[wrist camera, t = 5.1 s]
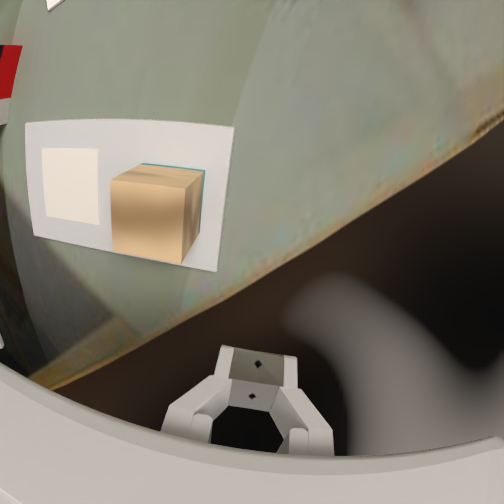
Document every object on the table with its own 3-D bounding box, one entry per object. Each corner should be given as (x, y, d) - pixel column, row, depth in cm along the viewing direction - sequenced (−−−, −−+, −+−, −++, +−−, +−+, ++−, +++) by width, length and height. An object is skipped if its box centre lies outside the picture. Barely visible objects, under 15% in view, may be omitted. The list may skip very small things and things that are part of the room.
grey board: (218, 267, 31) (216, 272, 30) (38, 231, 31) (33, 235, 30) (236, 127, 24) (234, 127, 23) (30, 121, 24) (24, 123, 23)
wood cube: (199, 232, 28) (181, 264, 23) (141, 222, 28) (113, 251, 23) (205, 170, 25) (185, 188, 20) (142, 162, 25) (110, 179, 20)
